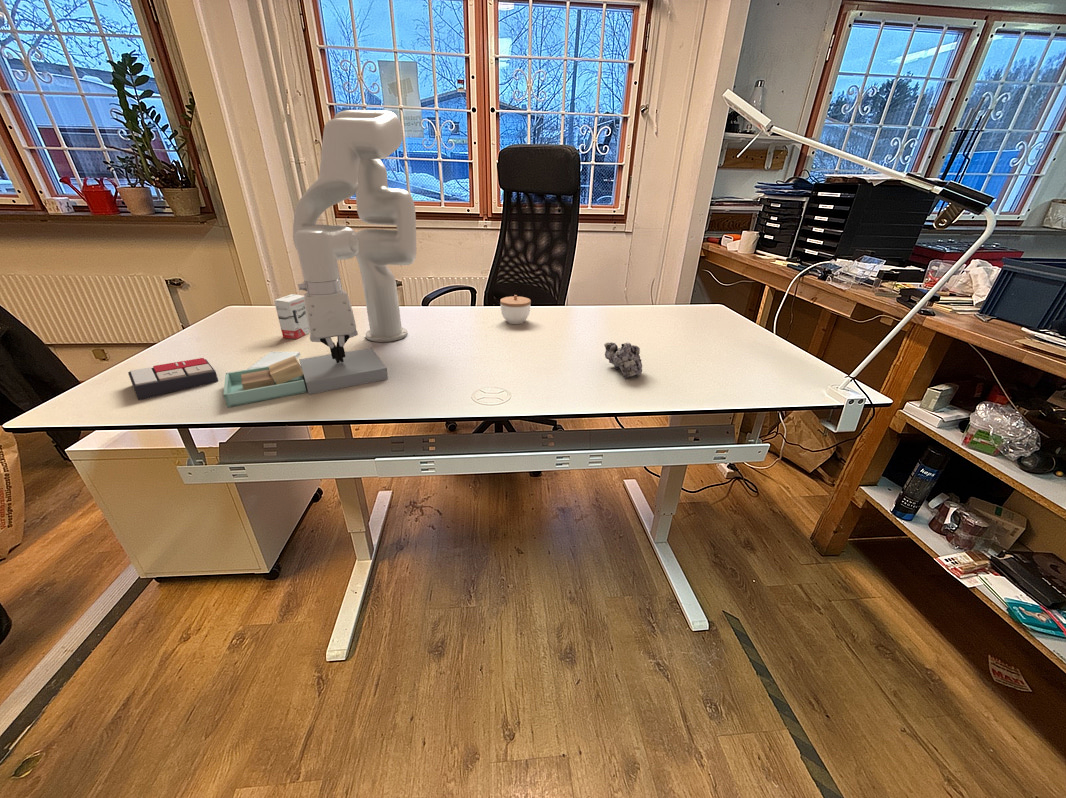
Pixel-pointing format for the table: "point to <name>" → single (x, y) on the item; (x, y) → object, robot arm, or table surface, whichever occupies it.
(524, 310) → the lidded jar
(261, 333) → the table surface
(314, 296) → the robot arm
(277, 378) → the tile oak
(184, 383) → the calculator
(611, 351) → the mineral specimen
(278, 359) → the hard drive
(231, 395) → the tray
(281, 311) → the ink box
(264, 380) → the tile walnut
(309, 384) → the board
